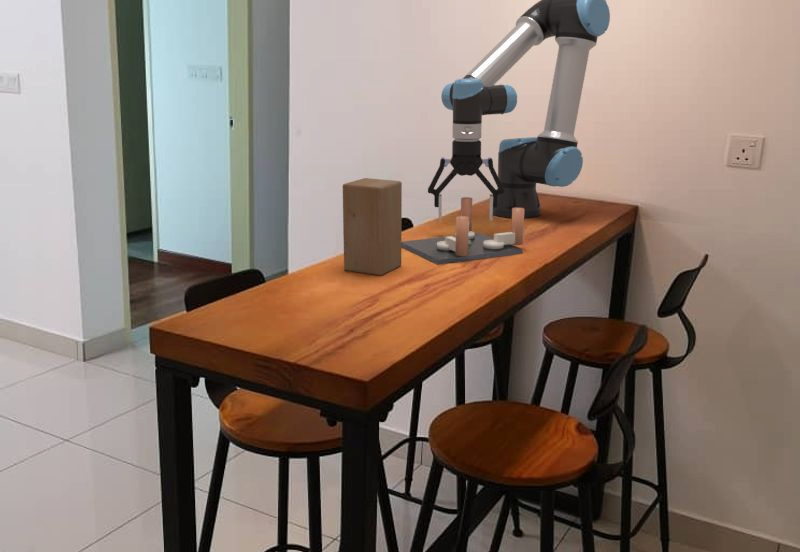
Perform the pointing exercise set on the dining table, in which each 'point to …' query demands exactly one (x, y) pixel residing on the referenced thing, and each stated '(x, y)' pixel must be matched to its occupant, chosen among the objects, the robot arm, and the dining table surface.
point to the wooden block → (372, 225)
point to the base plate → (475, 251)
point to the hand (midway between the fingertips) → (465, 219)
